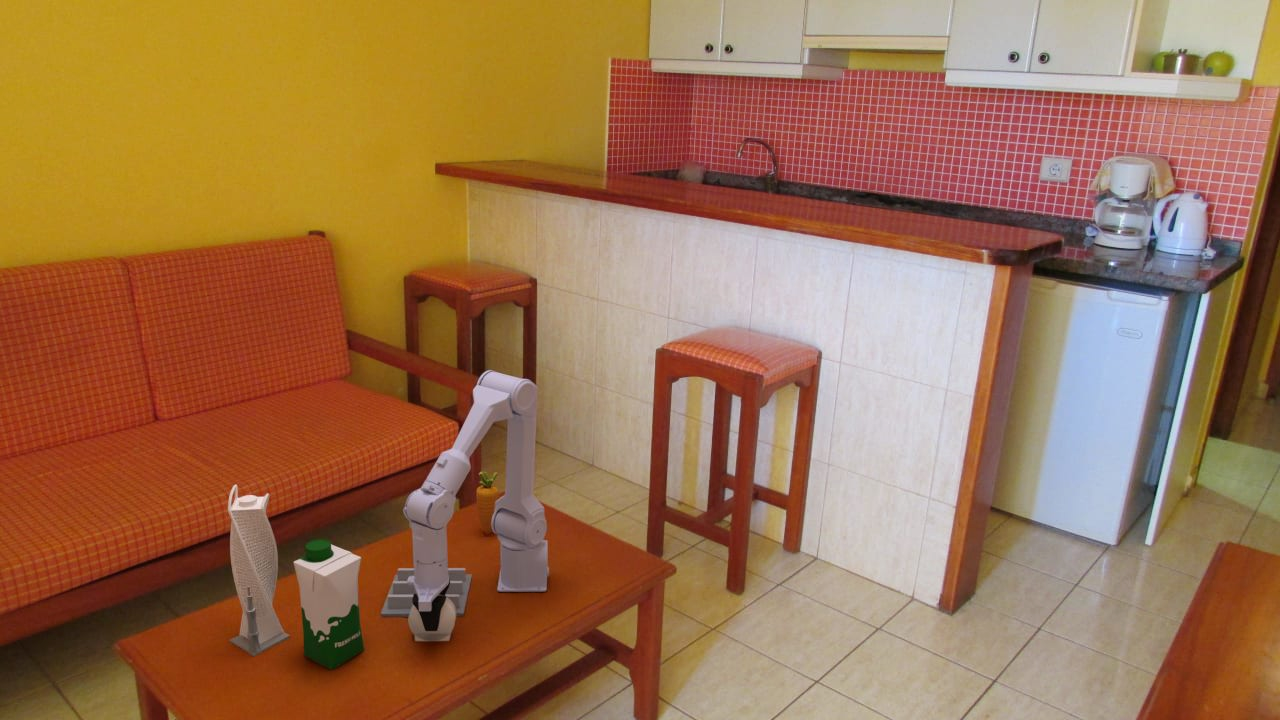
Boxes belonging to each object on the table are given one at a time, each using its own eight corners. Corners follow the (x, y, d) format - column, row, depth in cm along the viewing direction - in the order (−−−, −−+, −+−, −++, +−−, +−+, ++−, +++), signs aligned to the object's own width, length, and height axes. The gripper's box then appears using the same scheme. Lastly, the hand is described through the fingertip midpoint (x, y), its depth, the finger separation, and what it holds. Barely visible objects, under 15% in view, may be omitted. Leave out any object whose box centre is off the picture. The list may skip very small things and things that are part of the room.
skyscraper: (224, 639, 156) (208, 492, 148) (266, 618, 162) (252, 476, 154) (253, 656, 151) (238, 506, 143) (295, 634, 158) (282, 489, 150)
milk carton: (337, 632, 159) (330, 530, 153) (372, 649, 154) (366, 545, 149) (295, 656, 152) (286, 551, 146) (331, 675, 147) (323, 567, 142)
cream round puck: (457, 632, 160) (455, 593, 158) (455, 640, 158) (454, 600, 155) (411, 633, 159) (409, 593, 157) (409, 641, 157) (407, 601, 155)
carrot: (502, 529, 198) (501, 467, 194) (496, 540, 193) (495, 476, 189) (480, 528, 198) (479, 465, 194) (473, 538, 194) (472, 475, 189)
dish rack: (471, 576, 178) (471, 563, 178) (463, 616, 165) (463, 601, 164) (395, 577, 177) (394, 563, 176) (380, 616, 164) (379, 602, 163)
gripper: (414, 536, 161) (416, 602, 164) (398, 578, 147) (402, 649, 151) (453, 536, 161) (455, 602, 165) (442, 577, 147) (444, 649, 151)
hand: (432, 624), depth 158 cm, fingers closed on cream round puck, 2 cm apart
